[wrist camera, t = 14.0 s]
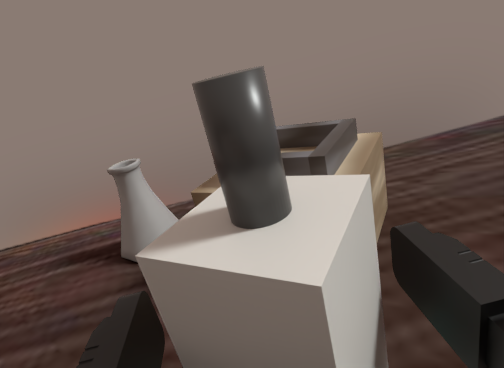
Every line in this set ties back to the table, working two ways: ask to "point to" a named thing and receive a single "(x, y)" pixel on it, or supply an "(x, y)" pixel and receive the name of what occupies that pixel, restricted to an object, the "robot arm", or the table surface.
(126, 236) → the flask
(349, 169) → the upper dock
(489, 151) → the table surface
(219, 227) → the plug
